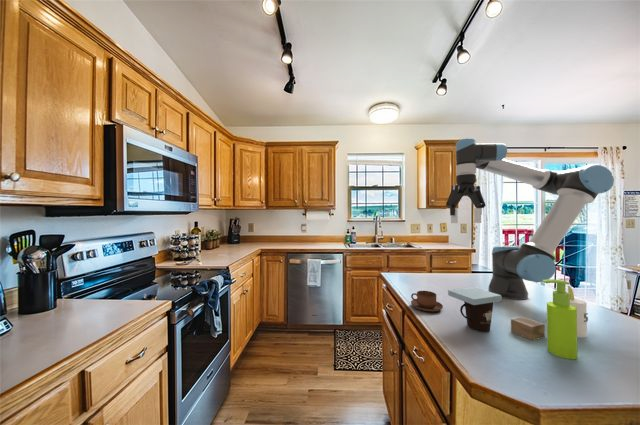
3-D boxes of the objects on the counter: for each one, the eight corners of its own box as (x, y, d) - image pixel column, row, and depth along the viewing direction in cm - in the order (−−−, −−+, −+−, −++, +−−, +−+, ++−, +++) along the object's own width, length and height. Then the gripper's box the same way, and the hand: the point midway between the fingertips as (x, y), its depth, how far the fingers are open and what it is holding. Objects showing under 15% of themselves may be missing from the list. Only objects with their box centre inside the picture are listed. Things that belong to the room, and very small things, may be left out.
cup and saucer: (411, 312, 97) (411, 296, 97) (410, 301, 108) (410, 287, 108) (445, 316, 93) (445, 299, 93) (440, 305, 104) (440, 290, 104)
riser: (523, 328, 82) (523, 316, 82) (544, 337, 76) (544, 324, 76) (511, 331, 80) (511, 319, 80) (531, 340, 75) (531, 327, 75)
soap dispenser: (538, 345, 72) (538, 276, 72) (569, 349, 69) (568, 278, 69) (549, 355, 66) (548, 281, 66) (582, 361, 64) (581, 284, 64)
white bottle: (581, 339, 75) (581, 290, 75) (554, 330, 81) (554, 284, 81) (592, 335, 77) (591, 288, 78) (565, 326, 83) (564, 282, 84)
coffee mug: (484, 322, 87) (484, 294, 87) (500, 334, 78) (499, 303, 78) (450, 321, 88) (450, 293, 88) (461, 332, 79) (461, 301, 79)
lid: (473, 291, 90) (473, 286, 90) (501, 300, 80) (501, 295, 80) (448, 295, 86) (448, 290, 86) (473, 305, 77) (473, 299, 77)
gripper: (478, 177, 115) (479, 222, 115) (436, 174, 107) (437, 223, 107) (494, 174, 108) (495, 222, 108) (450, 171, 100) (451, 223, 100)
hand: (466, 223), depth 107 cm, fingers open, 13 cm apart
